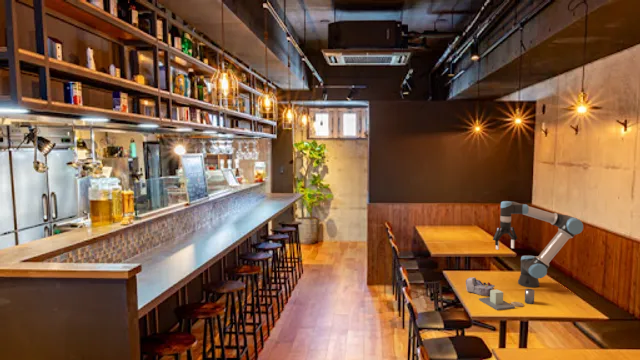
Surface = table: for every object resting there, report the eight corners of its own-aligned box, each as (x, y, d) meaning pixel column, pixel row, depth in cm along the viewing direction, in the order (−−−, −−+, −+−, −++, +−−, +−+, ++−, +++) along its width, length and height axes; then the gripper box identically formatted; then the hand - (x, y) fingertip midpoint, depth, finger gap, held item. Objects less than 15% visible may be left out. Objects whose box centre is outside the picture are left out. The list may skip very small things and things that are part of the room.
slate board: (495, 298, 302) (495, 296, 302) (514, 308, 283) (514, 306, 283) (478, 300, 299) (478, 298, 299) (497, 310, 279) (497, 308, 279)
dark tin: (529, 300, 296) (530, 288, 296) (536, 303, 291) (536, 291, 290) (522, 301, 295) (523, 289, 294) (528, 304, 289) (529, 292, 289)
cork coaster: (517, 302, 294) (517, 301, 294) (526, 306, 287) (526, 305, 286) (508, 303, 292) (508, 302, 292) (516, 307, 284) (516, 306, 284)
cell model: (468, 274, 323) (495, 279, 314) (467, 288, 324) (494, 292, 315) (464, 279, 312) (493, 283, 302) (464, 293, 313) (492, 298, 303)
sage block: (497, 300, 294) (497, 289, 294) (503, 303, 289) (503, 292, 288) (490, 301, 293) (490, 290, 292) (495, 304, 287) (495, 293, 286)
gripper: (516, 219, 324) (515, 246, 326) (488, 221, 318) (487, 248, 320) (522, 221, 317) (522, 248, 318) (494, 223, 311) (494, 251, 312)
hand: (504, 248), depth 319 cm, fingers open, 13 cm apart
